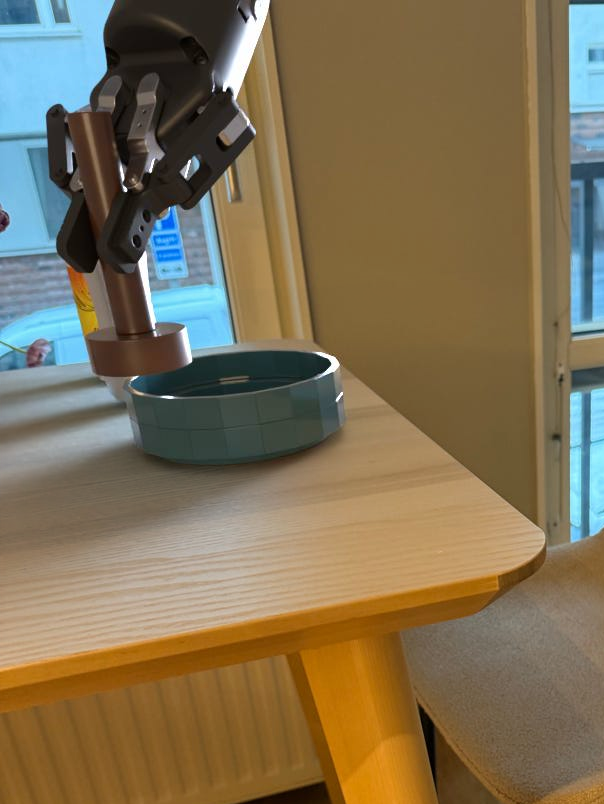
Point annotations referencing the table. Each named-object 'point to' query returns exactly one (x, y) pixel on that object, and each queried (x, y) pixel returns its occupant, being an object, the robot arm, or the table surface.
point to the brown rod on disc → (127, 293)
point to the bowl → (237, 406)
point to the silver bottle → (109, 316)
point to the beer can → (83, 304)
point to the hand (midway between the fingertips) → (93, 262)
